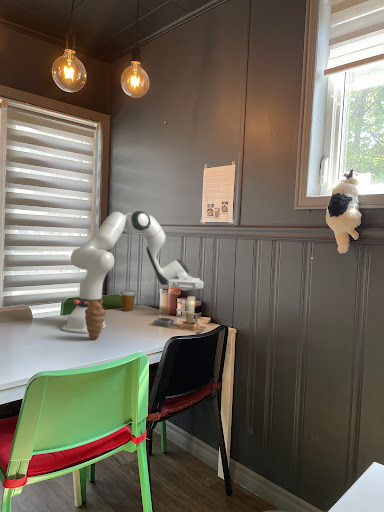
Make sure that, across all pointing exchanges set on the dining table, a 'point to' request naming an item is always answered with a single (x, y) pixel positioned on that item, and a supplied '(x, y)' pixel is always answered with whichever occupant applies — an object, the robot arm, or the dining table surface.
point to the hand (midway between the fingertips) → (186, 285)
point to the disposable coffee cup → (127, 300)
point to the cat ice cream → (94, 318)
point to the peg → (190, 310)
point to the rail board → (177, 325)
